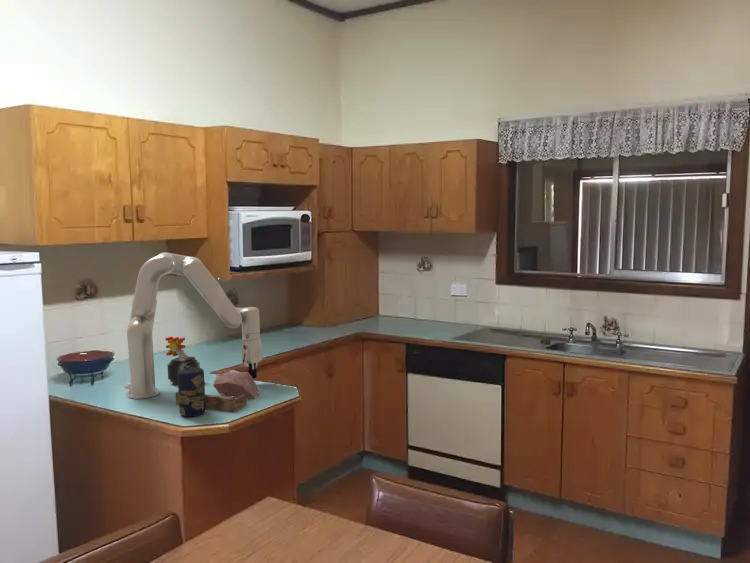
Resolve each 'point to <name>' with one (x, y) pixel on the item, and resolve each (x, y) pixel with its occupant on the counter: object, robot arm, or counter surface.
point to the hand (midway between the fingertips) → (252, 377)
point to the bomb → (178, 359)
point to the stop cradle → (222, 402)
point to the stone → (236, 384)
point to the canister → (191, 391)
